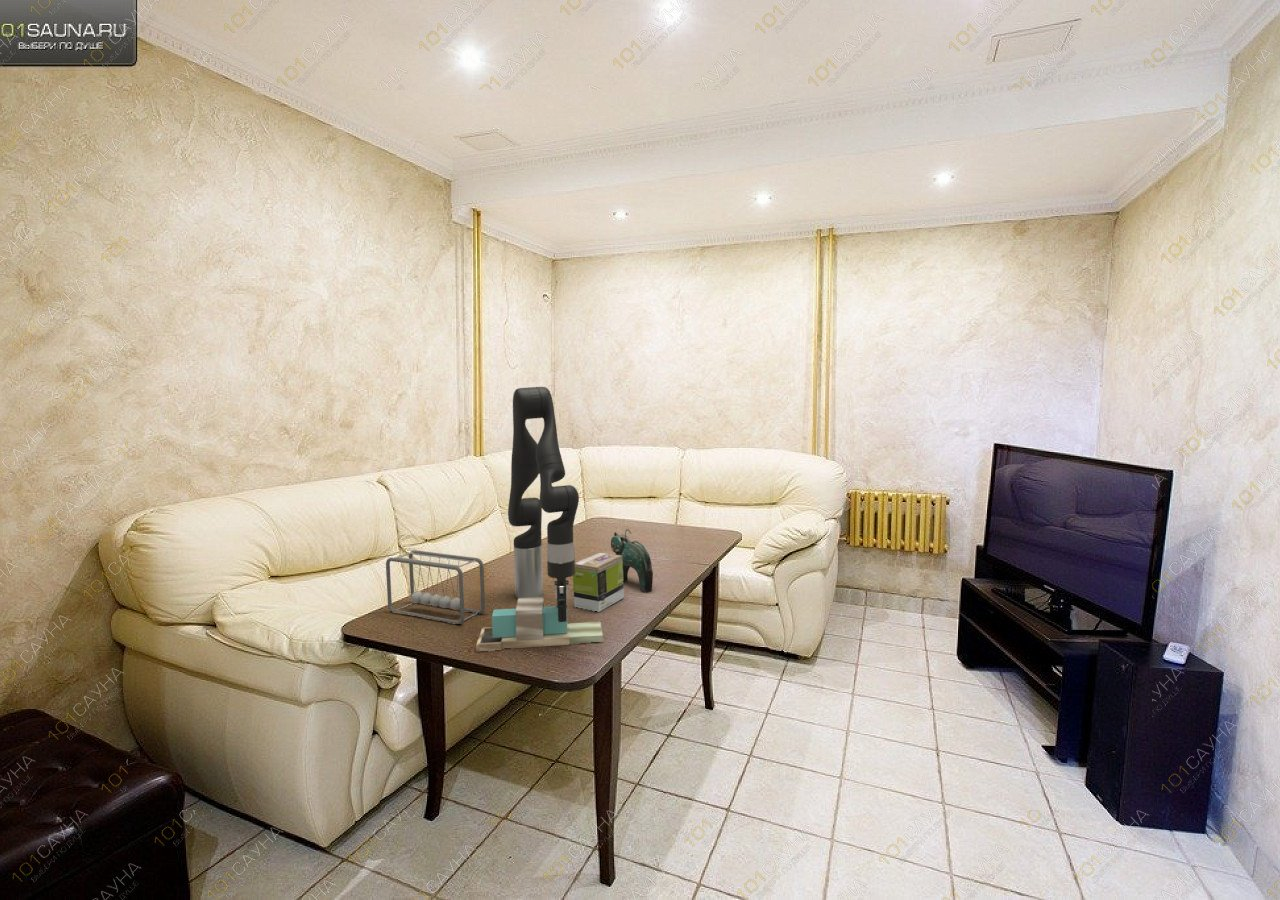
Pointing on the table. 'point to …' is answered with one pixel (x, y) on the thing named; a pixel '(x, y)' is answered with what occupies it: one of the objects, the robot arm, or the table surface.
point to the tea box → (598, 581)
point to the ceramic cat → (634, 559)
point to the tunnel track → (538, 630)
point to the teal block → (507, 622)
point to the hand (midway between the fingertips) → (562, 615)
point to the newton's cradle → (437, 599)
